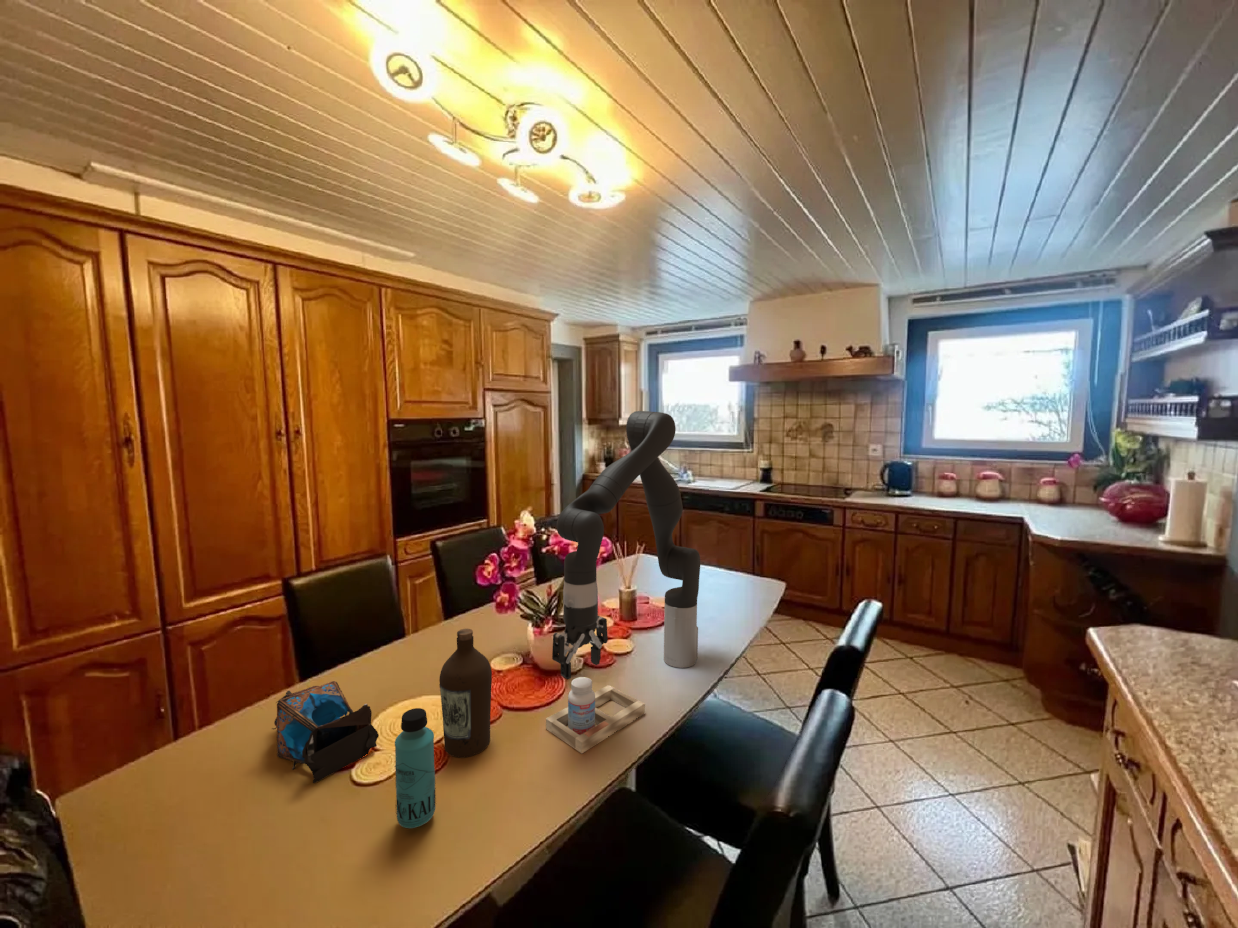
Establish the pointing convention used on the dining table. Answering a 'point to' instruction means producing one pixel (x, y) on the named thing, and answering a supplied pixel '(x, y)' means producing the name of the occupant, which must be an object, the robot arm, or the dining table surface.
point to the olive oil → (466, 698)
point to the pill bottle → (581, 706)
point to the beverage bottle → (415, 770)
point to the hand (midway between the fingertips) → (581, 670)
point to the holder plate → (597, 720)
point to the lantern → (322, 729)
